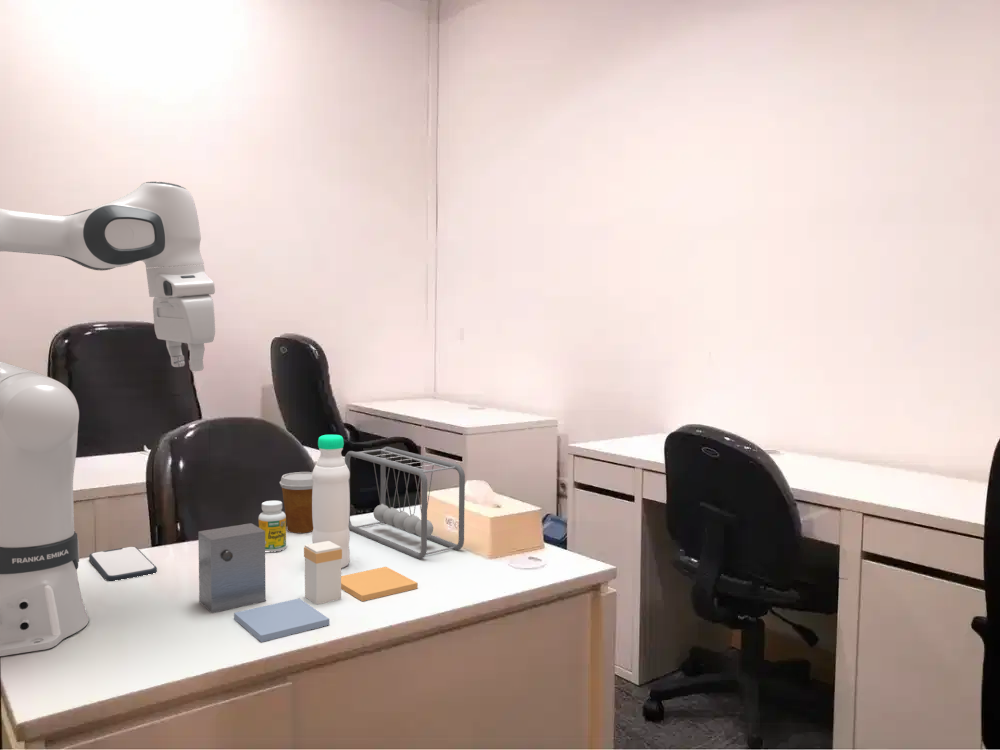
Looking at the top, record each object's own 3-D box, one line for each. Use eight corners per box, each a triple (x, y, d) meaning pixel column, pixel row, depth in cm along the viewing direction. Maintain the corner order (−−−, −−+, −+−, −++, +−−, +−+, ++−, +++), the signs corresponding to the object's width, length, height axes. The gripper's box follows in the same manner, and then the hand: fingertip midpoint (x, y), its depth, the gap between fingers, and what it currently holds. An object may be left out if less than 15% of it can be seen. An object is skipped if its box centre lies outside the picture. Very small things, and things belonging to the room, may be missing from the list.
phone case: (159, 576, 151) (136, 553, 163) (159, 568, 150) (136, 545, 163) (107, 586, 145) (87, 561, 158) (107, 577, 145) (87, 553, 158)
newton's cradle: (465, 551, 167) (466, 465, 165) (423, 561, 160) (423, 472, 158) (383, 521, 189) (383, 444, 188) (343, 528, 182) (343, 449, 181)
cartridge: (316, 604, 136) (316, 551, 135) (304, 596, 140) (303, 545, 139) (341, 598, 139) (341, 547, 138) (329, 591, 143) (329, 540, 142)
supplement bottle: (278, 543, 170) (277, 498, 169) (291, 549, 166) (291, 503, 165) (253, 548, 166) (253, 502, 165) (267, 554, 162) (266, 507, 161)
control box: (213, 614, 131) (211, 540, 130) (198, 601, 137) (197, 530, 136) (267, 602, 137) (266, 531, 136) (251, 590, 142) (250, 522, 141)
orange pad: (362, 601, 138) (362, 595, 138) (332, 583, 146) (332, 577, 146) (417, 588, 145) (417, 582, 145) (385, 571, 153) (385, 566, 153)
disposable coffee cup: (284, 537, 174) (283, 482, 173) (276, 526, 183) (275, 473, 182) (328, 532, 178) (328, 478, 177) (318, 522, 187) (318, 470, 186)
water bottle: (354, 560, 160) (354, 433, 158) (343, 571, 153) (343, 439, 151) (318, 558, 160) (318, 432, 158) (307, 570, 154) (306, 438, 151)
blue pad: (261, 642, 121) (261, 635, 121) (234, 618, 129) (234, 612, 129) (329, 625, 128) (329, 618, 128) (299, 604, 136) (299, 598, 136)
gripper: (139, 286, 139) (149, 366, 141) (176, 285, 123) (187, 376, 125) (177, 283, 143) (186, 361, 145) (218, 282, 127) (228, 370, 129)
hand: (187, 368), depth 135 cm, fingers open, 8 cm apart
